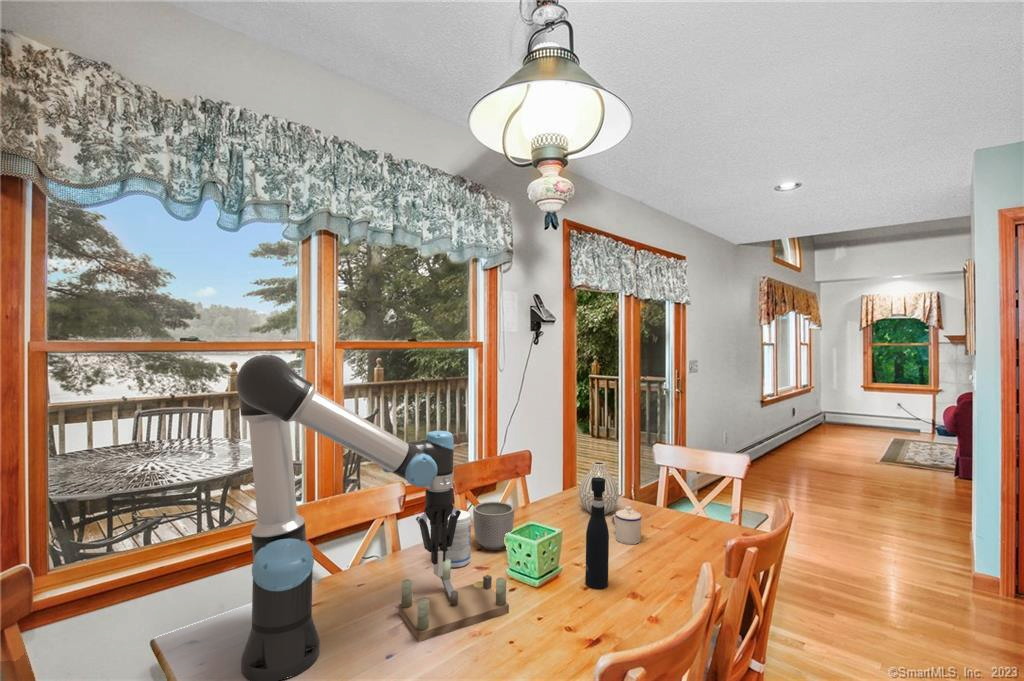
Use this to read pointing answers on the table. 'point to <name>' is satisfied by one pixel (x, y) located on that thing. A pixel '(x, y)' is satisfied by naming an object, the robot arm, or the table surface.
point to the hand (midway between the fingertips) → (438, 574)
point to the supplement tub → (460, 541)
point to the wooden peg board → (452, 607)
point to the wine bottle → (597, 540)
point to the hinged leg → (447, 577)
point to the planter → (492, 523)
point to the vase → (609, 494)
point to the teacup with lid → (627, 526)
